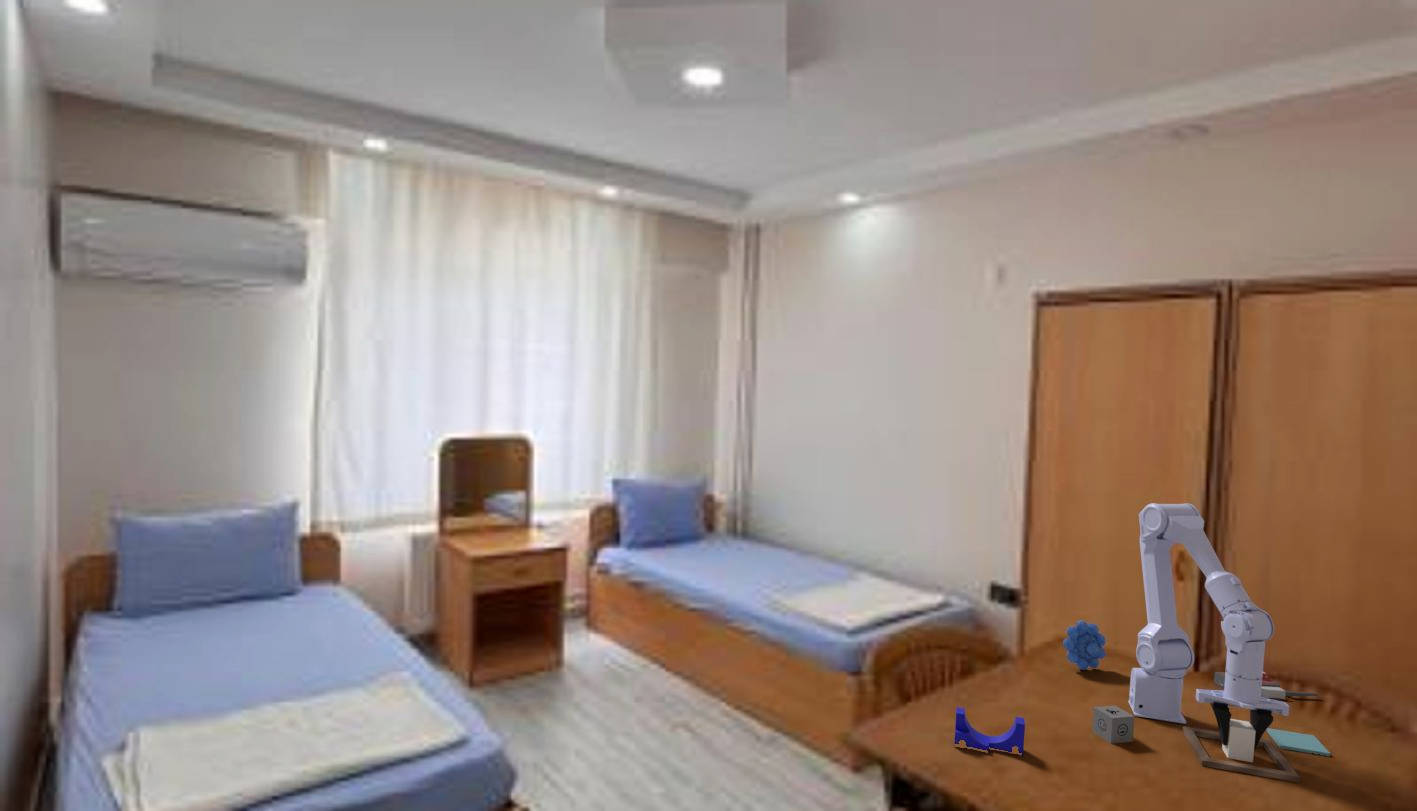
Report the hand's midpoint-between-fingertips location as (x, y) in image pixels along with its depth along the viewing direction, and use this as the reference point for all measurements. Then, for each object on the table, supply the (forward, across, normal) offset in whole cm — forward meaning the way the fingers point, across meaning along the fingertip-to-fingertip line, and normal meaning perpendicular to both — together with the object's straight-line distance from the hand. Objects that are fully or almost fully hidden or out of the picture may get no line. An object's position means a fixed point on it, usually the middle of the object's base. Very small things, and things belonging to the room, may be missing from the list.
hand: (1238, 745), depth 151 cm
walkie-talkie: (+2, +15, +40) cm, 43 cm away
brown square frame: (+2, 0, 0) cm, 2 cm away
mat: (+2, +13, +11) cm, 17 cm away
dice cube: (+2, -21, -1) cm, 21 cm away
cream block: (+2, 0, 0) cm, 2 cm away
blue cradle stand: (+2, -44, -16) cm, 47 cm away
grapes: (+2, -22, +35) cm, 41 cm away
